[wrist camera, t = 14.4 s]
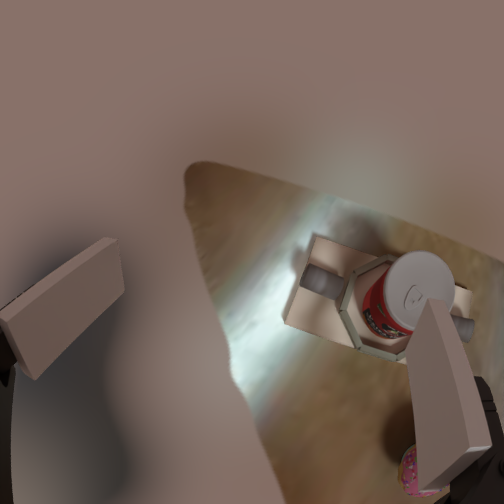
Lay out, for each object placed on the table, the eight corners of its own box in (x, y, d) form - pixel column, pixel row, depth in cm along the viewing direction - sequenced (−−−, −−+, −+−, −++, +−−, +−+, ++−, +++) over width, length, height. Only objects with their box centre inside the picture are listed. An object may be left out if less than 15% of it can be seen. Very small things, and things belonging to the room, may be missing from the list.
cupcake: (377, 457, 31) (407, 488, 19) (428, 416, 31) (474, 430, 20) (405, 495, 28) (438, 531, 16) (454, 456, 28) (499, 477, 17)
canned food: (350, 324, 36) (371, 309, 26) (376, 268, 38) (402, 235, 28) (401, 350, 34) (439, 344, 24) (425, 294, 36) (464, 269, 26)
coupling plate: (469, 292, 36) (485, 283, 32) (448, 379, 33) (465, 380, 28) (316, 237, 42) (319, 223, 37) (283, 326, 38) (282, 321, 34)
